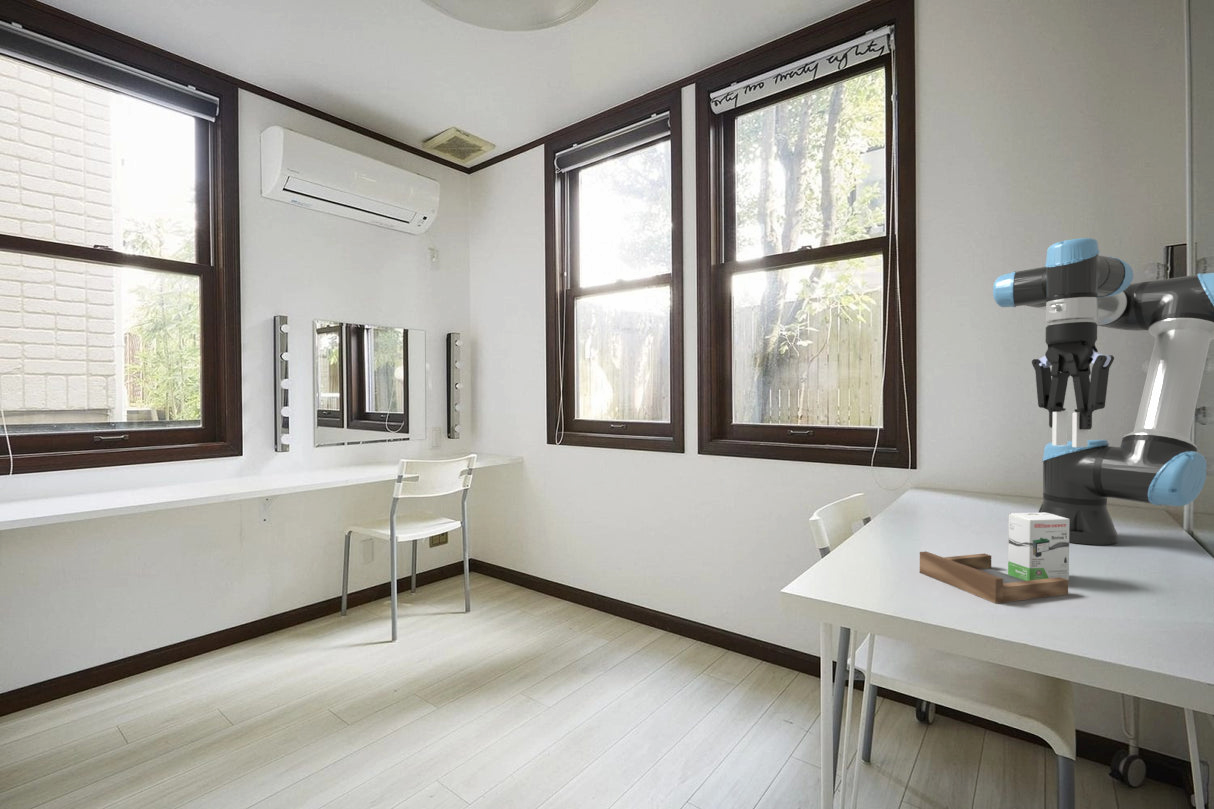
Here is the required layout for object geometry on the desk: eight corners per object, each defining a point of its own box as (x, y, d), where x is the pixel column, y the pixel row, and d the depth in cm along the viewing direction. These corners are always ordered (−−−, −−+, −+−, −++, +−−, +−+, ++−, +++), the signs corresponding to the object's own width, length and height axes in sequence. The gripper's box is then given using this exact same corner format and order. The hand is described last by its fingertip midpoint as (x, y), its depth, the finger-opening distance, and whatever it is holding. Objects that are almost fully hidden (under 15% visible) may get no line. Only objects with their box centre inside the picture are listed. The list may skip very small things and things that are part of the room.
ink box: (1029, 583, 100) (1030, 519, 100) (1006, 574, 105) (1006, 513, 104) (1071, 580, 101) (1071, 517, 101) (1045, 572, 106) (1046, 511, 106)
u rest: (984, 565, 110) (984, 546, 110) (1068, 594, 94) (1068, 571, 94) (919, 572, 106) (919, 552, 106) (995, 603, 91) (995, 579, 91)
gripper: (1014, 327, 111) (1013, 442, 112) (1102, 316, 95) (1101, 451, 96) (1044, 328, 113) (1042, 441, 113) (1134, 317, 97) (1133, 449, 98)
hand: (1069, 445), depth 105 cm, fingers open, 3 cm apart
